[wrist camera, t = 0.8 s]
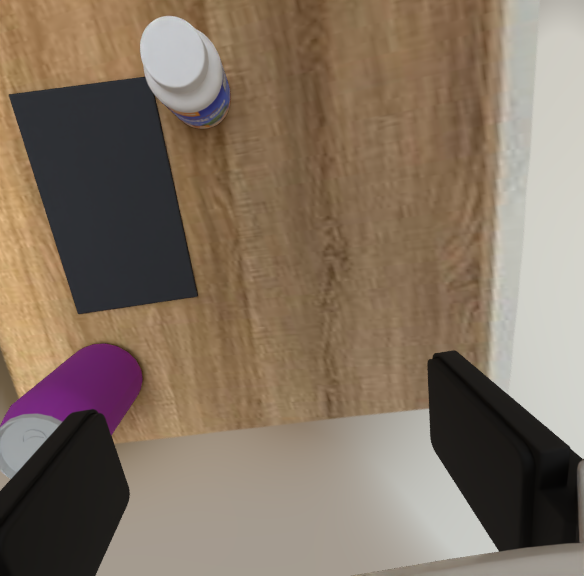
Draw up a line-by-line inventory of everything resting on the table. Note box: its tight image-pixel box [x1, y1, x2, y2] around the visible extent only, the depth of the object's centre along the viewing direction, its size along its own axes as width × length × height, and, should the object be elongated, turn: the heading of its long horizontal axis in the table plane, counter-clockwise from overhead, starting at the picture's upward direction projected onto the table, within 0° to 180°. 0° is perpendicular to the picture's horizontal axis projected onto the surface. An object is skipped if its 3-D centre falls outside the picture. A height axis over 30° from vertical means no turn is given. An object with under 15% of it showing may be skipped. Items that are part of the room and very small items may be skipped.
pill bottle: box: [140, 16, 231, 129], centre depth 26 cm, size 5×5×10 cm
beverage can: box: [0, 344, 143, 479], centre depth 31 cm, size 8×8×12 cm
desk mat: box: [9, 77, 198, 314], centre depth 33 cm, size 20×12×1 cm, turn 8°
